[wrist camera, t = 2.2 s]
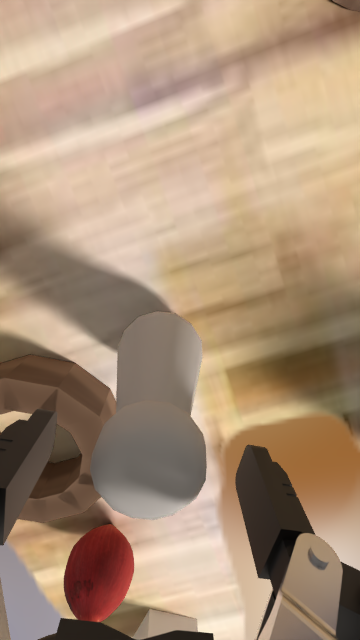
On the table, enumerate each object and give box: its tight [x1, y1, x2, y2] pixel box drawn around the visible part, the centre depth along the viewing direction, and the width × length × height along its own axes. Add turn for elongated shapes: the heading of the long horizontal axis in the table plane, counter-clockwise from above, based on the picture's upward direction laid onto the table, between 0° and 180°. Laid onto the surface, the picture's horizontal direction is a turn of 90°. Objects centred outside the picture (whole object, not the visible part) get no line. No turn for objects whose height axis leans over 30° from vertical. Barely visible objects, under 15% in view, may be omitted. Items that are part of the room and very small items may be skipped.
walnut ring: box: [0, 355, 116, 523], centre depth 23 cm, size 13×13×4 cm
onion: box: [64, 524, 134, 622], centre depth 25 cm, size 6×6×8 cm
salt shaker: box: [90, 311, 207, 520], centre depth 16 cm, size 6×6×13 cm
